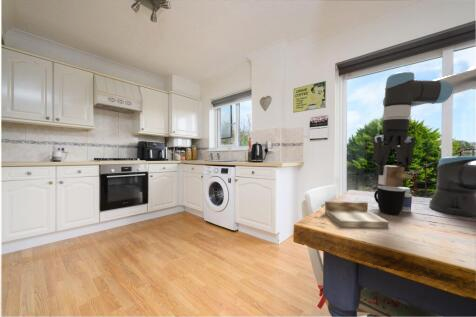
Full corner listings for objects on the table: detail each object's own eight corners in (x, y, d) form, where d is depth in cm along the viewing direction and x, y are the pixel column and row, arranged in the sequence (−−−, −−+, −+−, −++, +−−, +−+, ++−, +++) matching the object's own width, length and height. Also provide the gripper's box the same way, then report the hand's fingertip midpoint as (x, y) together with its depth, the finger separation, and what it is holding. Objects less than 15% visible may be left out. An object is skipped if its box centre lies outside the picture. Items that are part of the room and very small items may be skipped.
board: (364, 213, 81) (365, 201, 80) (388, 227, 68) (389, 213, 67) (324, 213, 81) (325, 201, 80) (340, 226, 68) (341, 212, 68)
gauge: (391, 184, 75) (393, 165, 74) (417, 191, 64) (419, 169, 64) (378, 183, 75) (379, 165, 74) (401, 190, 64) (403, 168, 64)
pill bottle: (414, 212, 83) (416, 189, 82) (401, 212, 83) (402, 189, 82) (403, 208, 88) (405, 186, 87) (391, 208, 88) (392, 186, 87)
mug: (409, 216, 79) (411, 190, 78) (389, 217, 77) (391, 191, 77) (382, 206, 91) (384, 184, 90) (365, 207, 89) (366, 184, 88)
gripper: (412, 121, 74) (405, 183, 76) (363, 119, 74) (358, 181, 76) (431, 119, 67) (424, 187, 69) (377, 117, 67) (371, 186, 69)
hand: (389, 184), depth 72 cm, fingers closed on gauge, 5 cm apart
